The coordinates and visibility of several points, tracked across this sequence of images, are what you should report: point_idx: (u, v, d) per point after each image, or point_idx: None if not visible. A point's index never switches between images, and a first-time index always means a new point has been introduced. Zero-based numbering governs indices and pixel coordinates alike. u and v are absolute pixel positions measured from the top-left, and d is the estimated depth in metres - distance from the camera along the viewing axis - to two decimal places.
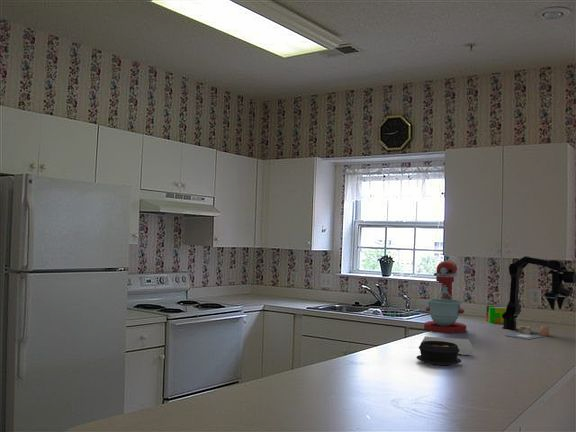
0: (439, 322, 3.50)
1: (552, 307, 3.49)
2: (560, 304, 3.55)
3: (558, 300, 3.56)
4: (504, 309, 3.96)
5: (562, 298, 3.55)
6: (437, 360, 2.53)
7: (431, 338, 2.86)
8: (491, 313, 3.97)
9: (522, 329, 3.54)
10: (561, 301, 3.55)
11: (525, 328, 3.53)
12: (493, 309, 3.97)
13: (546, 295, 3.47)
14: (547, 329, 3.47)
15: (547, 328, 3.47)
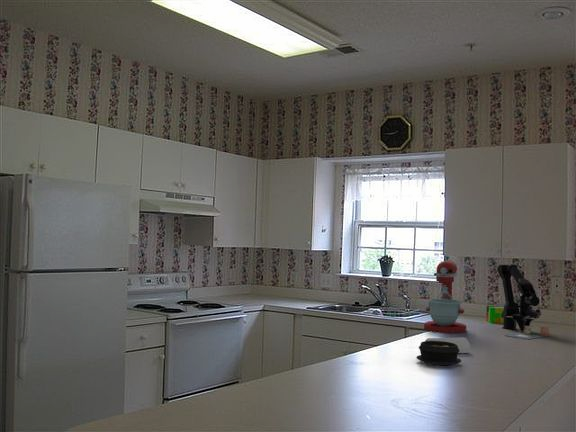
0: (439, 322, 3.50)
1: (521, 329, 3.54)
2: None
3: (525, 322, 3.59)
4: None
5: (529, 320, 3.58)
6: (437, 360, 2.53)
7: (434, 339, 2.83)
8: (491, 313, 3.97)
9: None
10: (528, 323, 3.58)
11: (525, 328, 3.53)
12: (493, 309, 3.97)
13: (514, 317, 3.52)
14: (547, 329, 3.47)
15: (547, 328, 3.47)
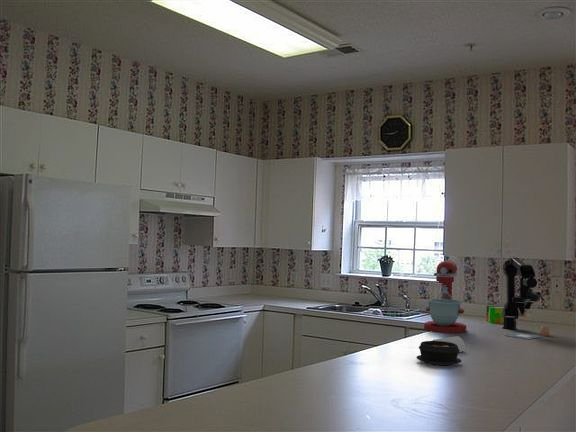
0: (439, 322, 3.50)
1: (522, 312, 3.46)
2: None
3: (525, 305, 3.51)
4: None
5: (529, 303, 3.50)
6: (437, 360, 2.53)
7: (438, 340, 2.80)
8: (491, 313, 3.97)
9: None
10: (528, 306, 3.50)
11: (526, 311, 3.45)
12: (493, 309, 3.97)
13: (514, 300, 3.43)
14: (547, 329, 3.47)
15: (547, 328, 3.47)
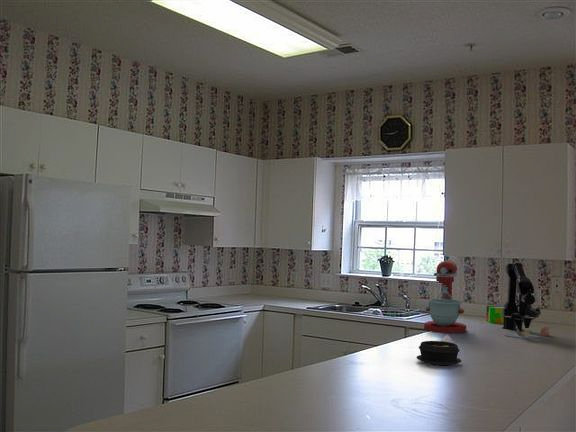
0: (439, 322, 3.50)
1: (519, 329, 3.40)
2: (527, 325, 3.46)
3: (525, 321, 3.47)
4: None
5: (529, 319, 3.46)
6: (437, 360, 2.53)
7: (446, 341, 2.79)
8: (491, 313, 3.97)
9: (521, 331, 3.41)
10: (528, 322, 3.46)
11: (524, 330, 3.40)
12: (493, 309, 3.97)
13: (512, 317, 3.38)
14: (547, 329, 3.47)
15: (547, 328, 3.47)
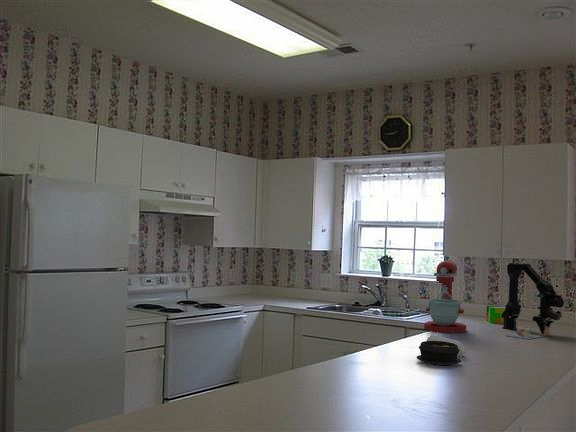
0: (439, 322, 3.50)
1: (542, 331, 3.48)
2: None
3: (545, 324, 3.52)
4: (504, 309, 3.96)
5: (549, 322, 3.51)
6: (437, 360, 2.53)
7: None
8: (491, 313, 3.97)
9: (521, 331, 3.41)
10: (548, 325, 3.51)
11: (524, 330, 3.40)
12: (493, 309, 3.97)
13: (534, 319, 3.45)
14: (547, 329, 3.47)
15: (547, 328, 3.47)
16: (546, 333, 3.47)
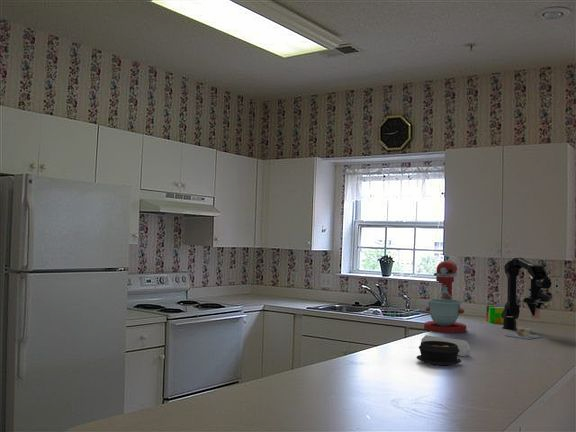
0: (439, 322, 3.50)
1: (533, 313, 3.45)
2: None
3: (535, 306, 3.49)
4: None
5: (539, 304, 3.48)
6: (437, 360, 2.53)
7: None
8: (491, 313, 3.97)
9: (521, 331, 3.41)
10: (538, 307, 3.48)
11: (524, 330, 3.40)
12: (493, 309, 3.97)
13: (525, 301, 3.42)
14: (538, 311, 3.45)
15: (538, 310, 3.45)
16: (537, 315, 3.44)
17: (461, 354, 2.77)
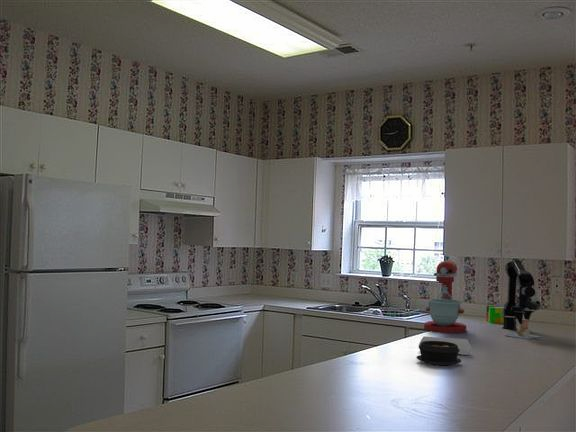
0: (439, 322, 3.50)
1: (520, 321, 3.41)
2: (527, 318, 3.46)
3: (525, 314, 3.47)
4: None
5: (529, 312, 3.45)
6: (437, 360, 2.53)
7: None
8: (491, 313, 3.97)
9: (521, 331, 3.41)
10: (528, 315, 3.46)
11: (524, 330, 3.40)
12: (493, 309, 3.97)
13: (513, 309, 3.39)
14: (526, 322, 3.41)
15: (526, 321, 3.41)
16: (525, 326, 3.41)
17: (466, 353, 2.80)
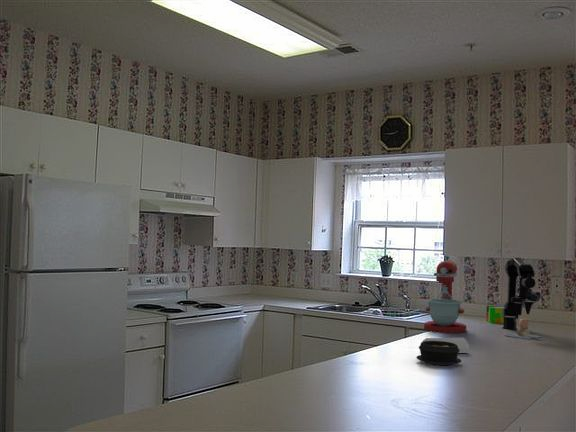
0: (439, 322, 3.50)
1: (519, 312, 3.40)
2: (528, 309, 3.46)
3: (526, 305, 3.48)
4: None
5: (530, 303, 3.46)
6: (437, 360, 2.53)
7: None
8: (491, 313, 3.97)
9: (521, 331, 3.41)
10: (529, 306, 3.46)
11: (524, 330, 3.40)
12: (493, 309, 3.97)
13: (513, 300, 3.39)
14: (526, 322, 3.41)
15: (526, 321, 3.41)
16: (525, 326, 3.41)
17: (467, 351, 2.84)
